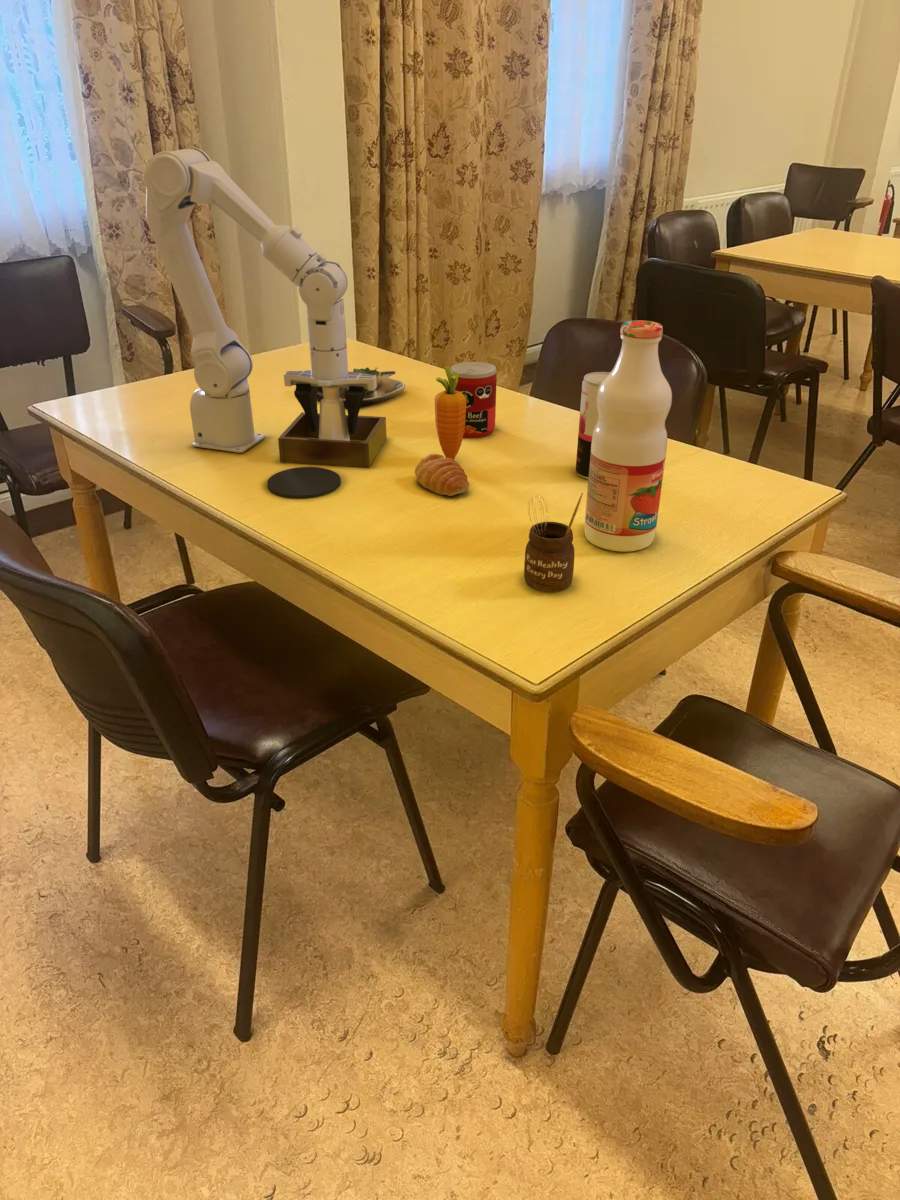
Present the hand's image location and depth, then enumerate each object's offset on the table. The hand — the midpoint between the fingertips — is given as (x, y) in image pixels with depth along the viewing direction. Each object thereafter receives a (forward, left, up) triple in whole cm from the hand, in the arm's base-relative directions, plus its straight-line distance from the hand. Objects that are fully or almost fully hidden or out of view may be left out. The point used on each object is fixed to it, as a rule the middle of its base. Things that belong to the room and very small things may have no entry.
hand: (333, 430), depth 145 cm
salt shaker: (0, 0, -4) cm, 4 cm away
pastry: (+22, -8, -4) cm, 23 cm away
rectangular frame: (0, 0, -3) cm, 3 cm away
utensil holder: (+44, -32, -4) cm, 54 cm away
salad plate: (-10, +28, -4) cm, 30 cm away
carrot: (+20, +2, -4) cm, 20 cm away
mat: (+2, -14, -3) cm, 14 cm away
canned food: (+18, +16, -4) cm, 25 cm away
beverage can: (+42, +4, -4) cm, 43 cm away
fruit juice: (+50, -16, -4) cm, 52 cm away
